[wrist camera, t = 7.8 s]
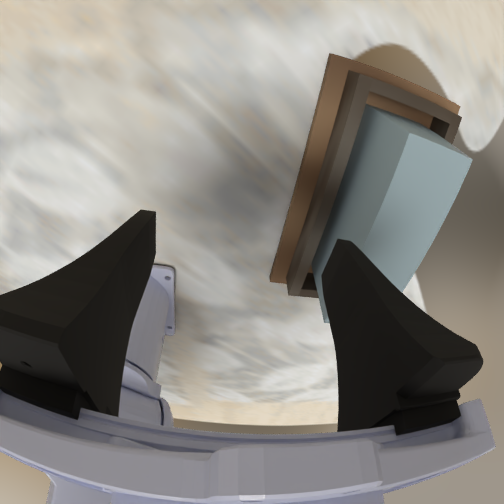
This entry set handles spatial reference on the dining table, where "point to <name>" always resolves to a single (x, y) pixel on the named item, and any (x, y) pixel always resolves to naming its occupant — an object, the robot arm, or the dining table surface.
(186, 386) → the dining table surface
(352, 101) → the cradle
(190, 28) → the dining table surface
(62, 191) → the dining table surface
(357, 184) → the pale blue bar
